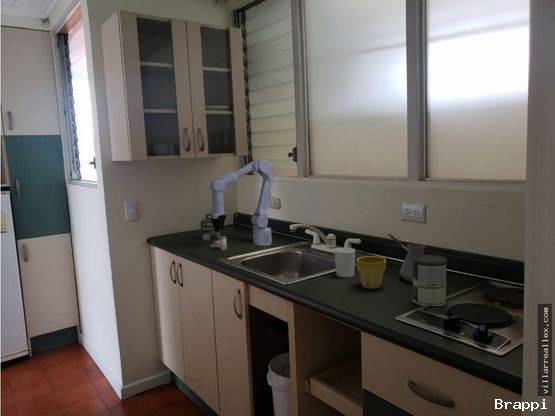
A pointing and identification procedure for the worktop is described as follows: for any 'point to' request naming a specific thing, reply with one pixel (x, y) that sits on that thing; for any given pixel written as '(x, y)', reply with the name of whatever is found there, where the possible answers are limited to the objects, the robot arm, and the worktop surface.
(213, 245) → the button housing
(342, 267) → the white cup
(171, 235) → the worktop surface
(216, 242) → the button
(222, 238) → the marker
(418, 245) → the coffee pot
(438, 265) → the coffee can
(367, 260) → the plant pot
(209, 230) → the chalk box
